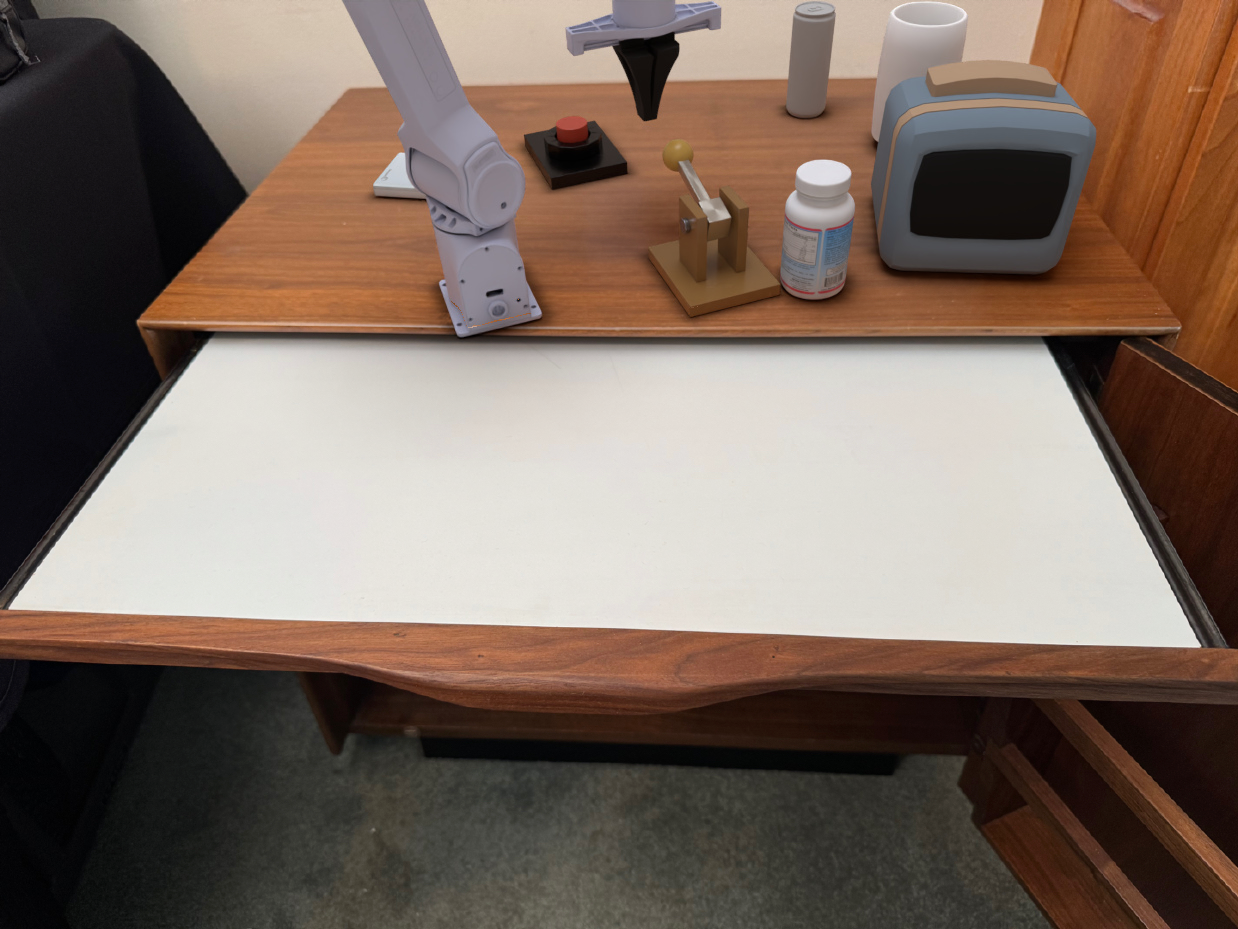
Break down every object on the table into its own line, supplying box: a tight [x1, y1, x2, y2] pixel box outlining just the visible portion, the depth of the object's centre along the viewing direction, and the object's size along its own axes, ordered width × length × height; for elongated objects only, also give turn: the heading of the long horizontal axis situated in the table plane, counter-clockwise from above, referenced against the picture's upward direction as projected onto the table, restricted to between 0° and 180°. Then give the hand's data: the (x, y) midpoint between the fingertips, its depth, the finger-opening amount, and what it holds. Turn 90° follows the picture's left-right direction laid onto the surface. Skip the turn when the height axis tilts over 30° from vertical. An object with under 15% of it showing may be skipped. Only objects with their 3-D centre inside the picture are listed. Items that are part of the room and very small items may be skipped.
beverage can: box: [785, 0, 837, 119], centre depth 105 cm, size 5×5×12 cm
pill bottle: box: [779, 159, 856, 300], centre depth 79 cm, size 6×6×11 cm
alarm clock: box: [870, 59, 1097, 276], centre depth 82 cm, size 16×16×16 cm
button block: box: [523, 120, 629, 190], centre depth 102 cm, size 12×9×3 cm
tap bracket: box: [647, 185, 782, 318], centre depth 82 cm, size 11×9×8 cm
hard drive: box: [372, 152, 426, 200], centre depth 101 cm, size 2×8×12 cm
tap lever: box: [661, 138, 732, 242], centre depth 83 cm, size 12×3×3 cm, turn 19°
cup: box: [870, 0, 969, 142], centre depth 97 cm, size 8×8×14 cm
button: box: [555, 115, 588, 143], centre depth 101 cm, size 4×4×2 cm
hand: (647, 116), depth 87 cm, fingers closed
